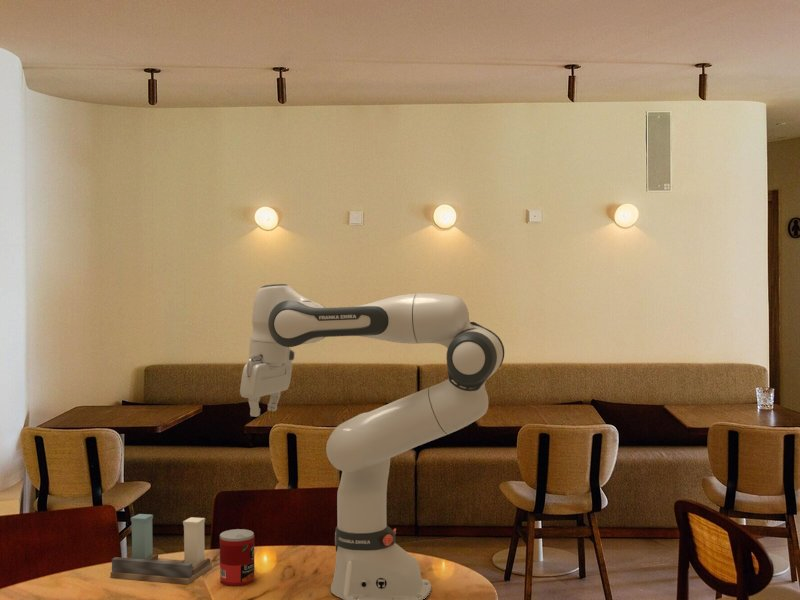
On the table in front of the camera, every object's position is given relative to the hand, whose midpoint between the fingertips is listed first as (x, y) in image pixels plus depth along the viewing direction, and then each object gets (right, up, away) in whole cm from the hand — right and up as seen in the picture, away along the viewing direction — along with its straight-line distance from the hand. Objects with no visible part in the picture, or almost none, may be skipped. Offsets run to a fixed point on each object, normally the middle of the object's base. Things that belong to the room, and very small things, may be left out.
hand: (263, 413), depth 196 cm
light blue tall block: (-32, -38, +12) cm, 50 cm away
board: (-25, -39, +7) cm, 47 cm away
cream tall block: (-18, -38, +8) cm, 42 cm away
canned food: (-6, -39, +1) cm, 40 cm away
